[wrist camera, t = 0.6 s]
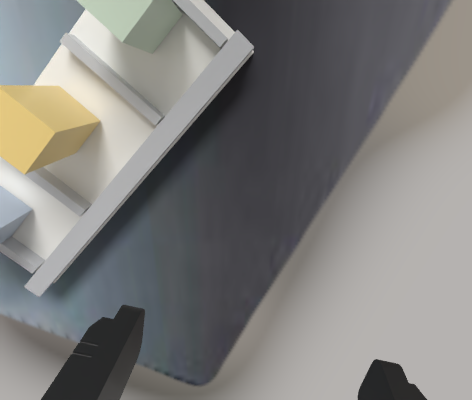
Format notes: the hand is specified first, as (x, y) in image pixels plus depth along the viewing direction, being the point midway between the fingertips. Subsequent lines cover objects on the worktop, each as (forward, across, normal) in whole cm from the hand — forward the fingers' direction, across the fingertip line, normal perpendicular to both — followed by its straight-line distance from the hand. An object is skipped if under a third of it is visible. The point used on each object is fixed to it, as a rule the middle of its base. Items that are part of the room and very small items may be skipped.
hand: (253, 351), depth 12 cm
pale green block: (+26, +13, -11) cm, 31 cm away
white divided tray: (+26, +18, +2) cm, 31 cm away
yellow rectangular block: (+24, +20, 0) cm, 32 cm away
